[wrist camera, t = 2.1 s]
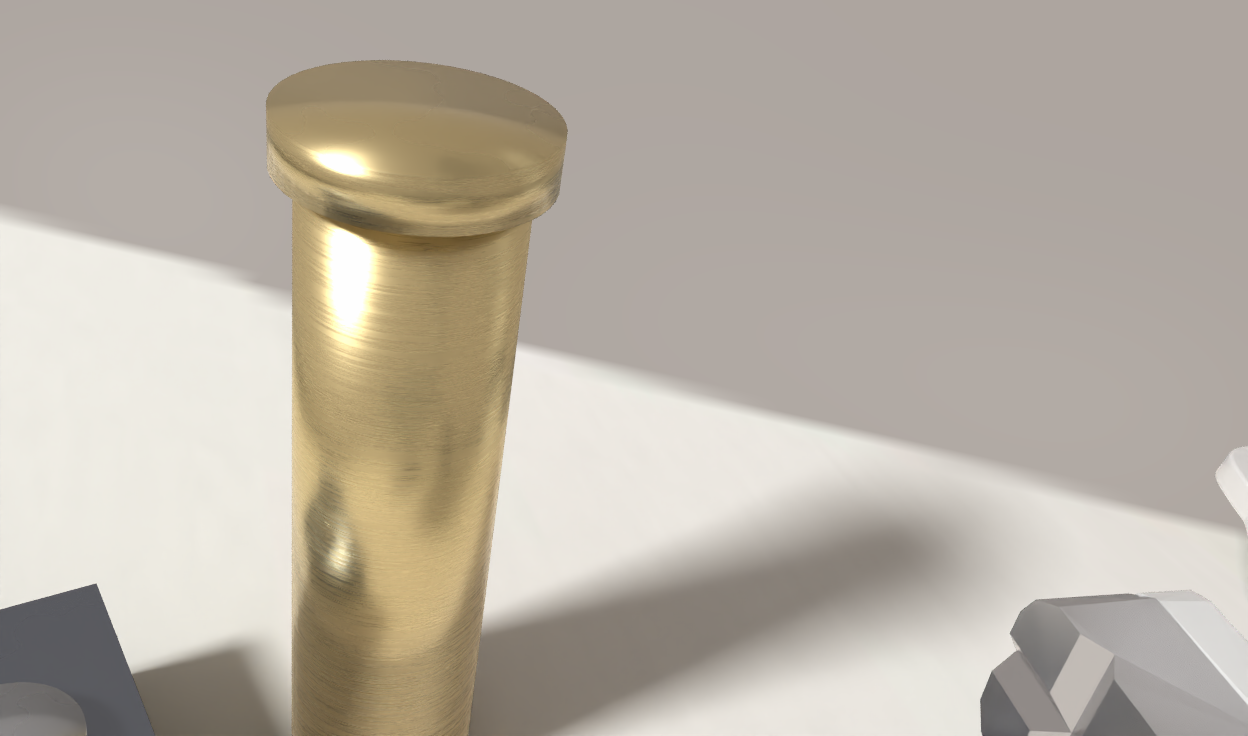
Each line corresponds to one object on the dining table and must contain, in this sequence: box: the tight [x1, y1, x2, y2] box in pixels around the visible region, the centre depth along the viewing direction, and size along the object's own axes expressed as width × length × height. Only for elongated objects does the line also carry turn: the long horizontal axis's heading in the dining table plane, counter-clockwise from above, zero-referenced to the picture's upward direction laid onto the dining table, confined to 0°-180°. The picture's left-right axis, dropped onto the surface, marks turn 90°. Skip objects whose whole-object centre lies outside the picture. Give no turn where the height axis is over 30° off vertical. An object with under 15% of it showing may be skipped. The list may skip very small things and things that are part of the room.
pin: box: [266, 60, 568, 736], centre depth 23 cm, size 5×5×15 cm
